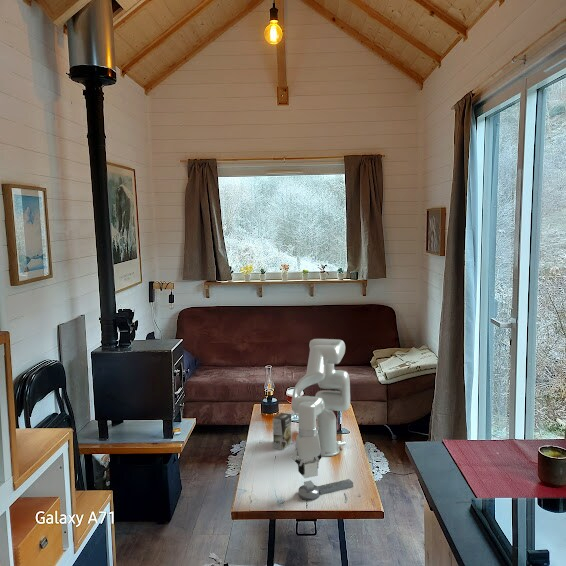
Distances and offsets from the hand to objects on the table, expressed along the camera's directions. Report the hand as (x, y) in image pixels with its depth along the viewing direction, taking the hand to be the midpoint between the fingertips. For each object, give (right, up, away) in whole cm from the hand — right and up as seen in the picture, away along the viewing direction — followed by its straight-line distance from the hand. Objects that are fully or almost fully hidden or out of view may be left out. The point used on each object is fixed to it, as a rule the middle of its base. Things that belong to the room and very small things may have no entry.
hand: (308, 471), depth 226 cm
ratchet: (+8, -10, +5) cm, 14 cm away
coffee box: (-11, -5, +52) cm, 53 cm away
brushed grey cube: (0, -1, 0) cm, 1 cm away
